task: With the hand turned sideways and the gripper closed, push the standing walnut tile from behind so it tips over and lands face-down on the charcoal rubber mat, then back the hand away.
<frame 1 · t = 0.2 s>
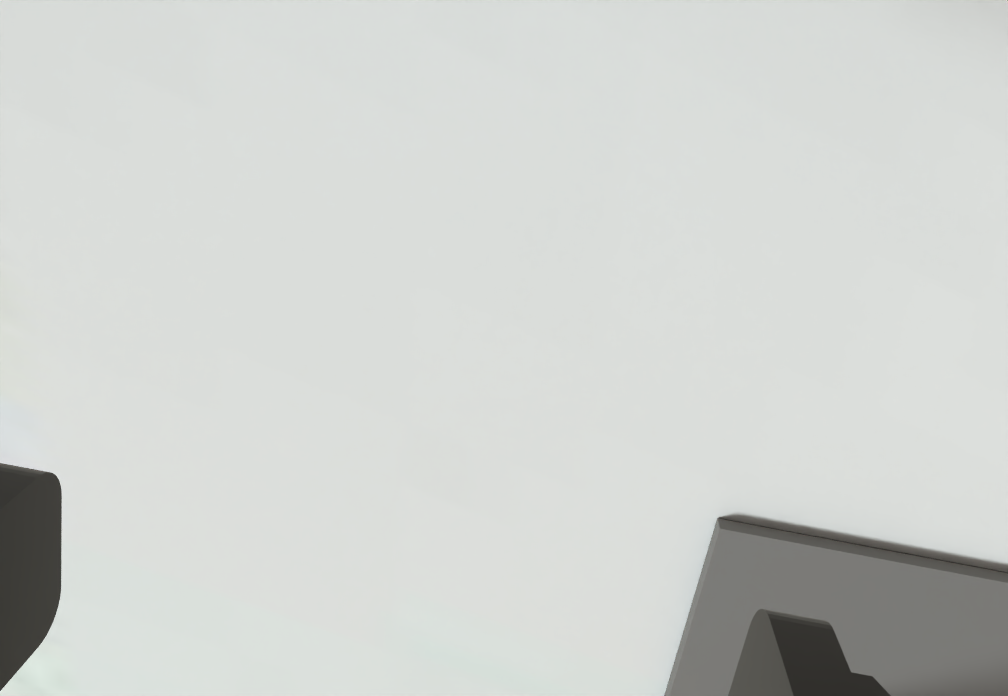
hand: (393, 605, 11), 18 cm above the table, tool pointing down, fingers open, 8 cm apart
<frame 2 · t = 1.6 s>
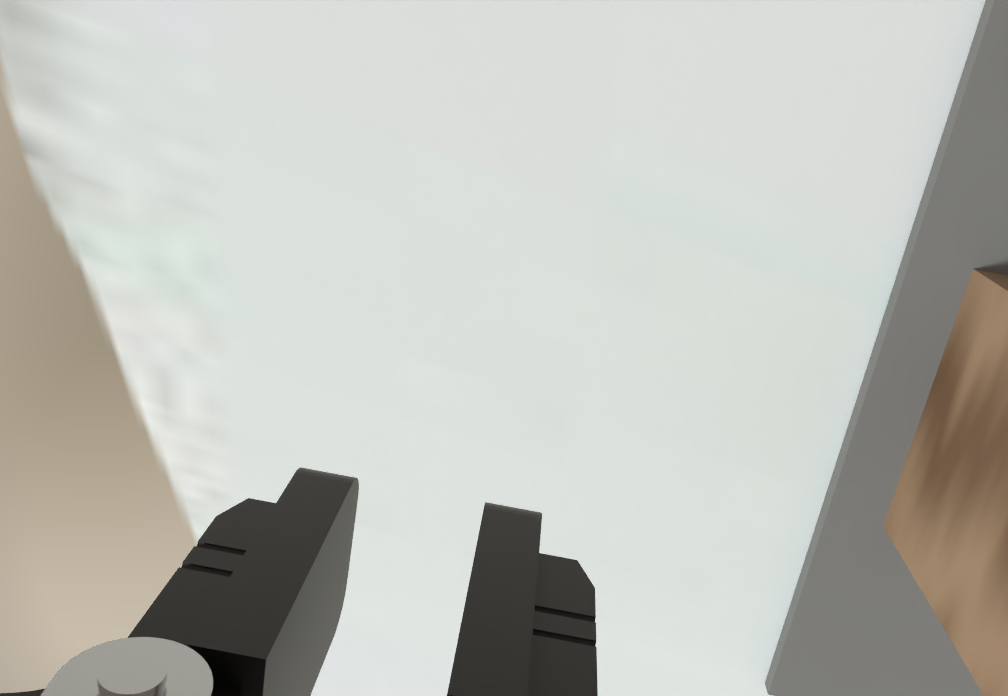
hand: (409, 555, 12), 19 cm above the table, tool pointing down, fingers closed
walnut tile: (959, 410, 30), point 1 cm above the table, touching charcoal mat
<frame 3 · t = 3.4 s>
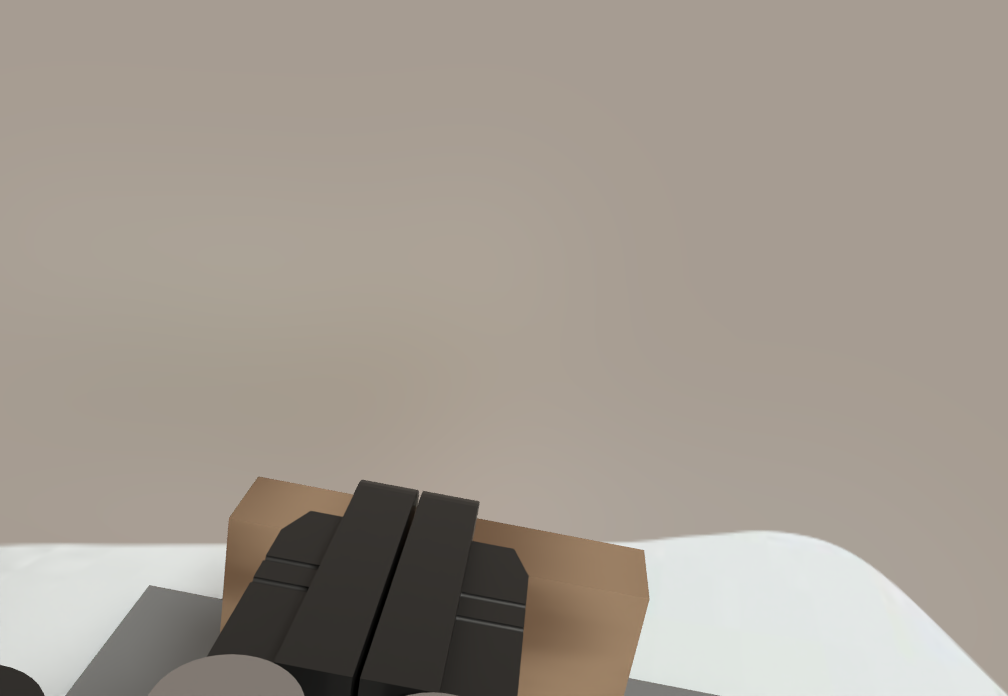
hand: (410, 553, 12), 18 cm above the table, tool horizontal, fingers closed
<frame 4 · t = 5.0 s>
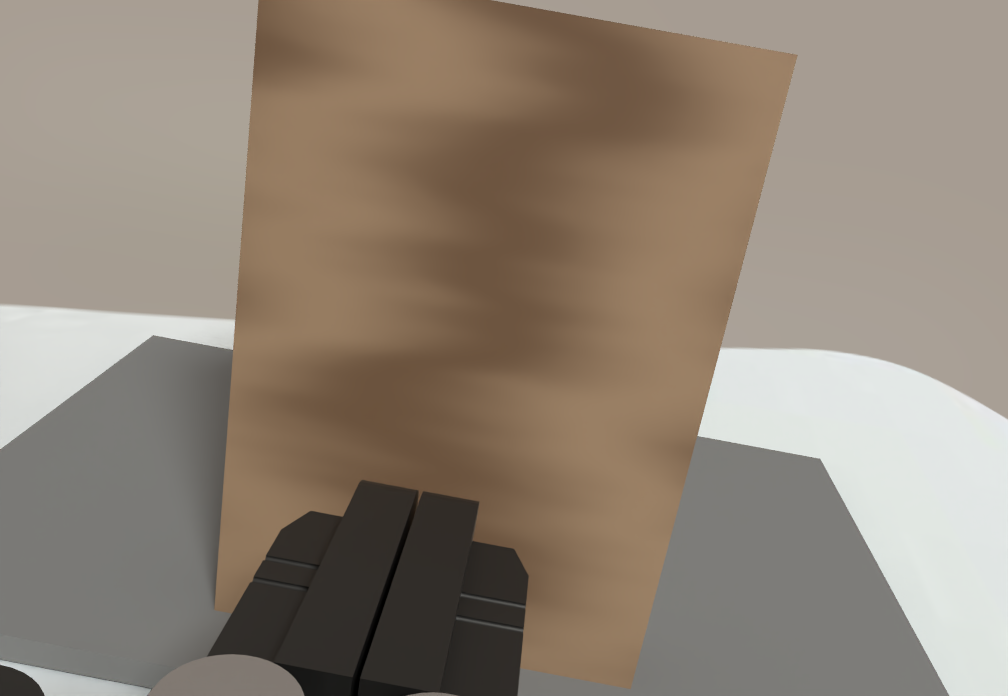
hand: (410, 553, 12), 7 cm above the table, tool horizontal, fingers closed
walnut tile: (429, 618, 21), point 1 cm above the table, touching charcoal mat
charcoal mat: (453, 527, 26), on the table
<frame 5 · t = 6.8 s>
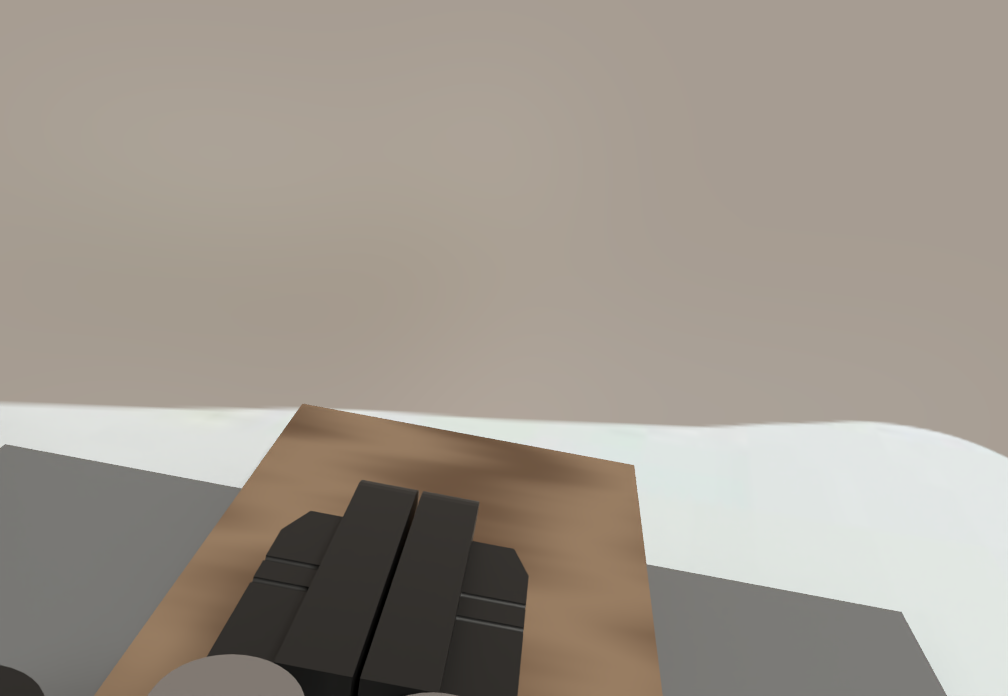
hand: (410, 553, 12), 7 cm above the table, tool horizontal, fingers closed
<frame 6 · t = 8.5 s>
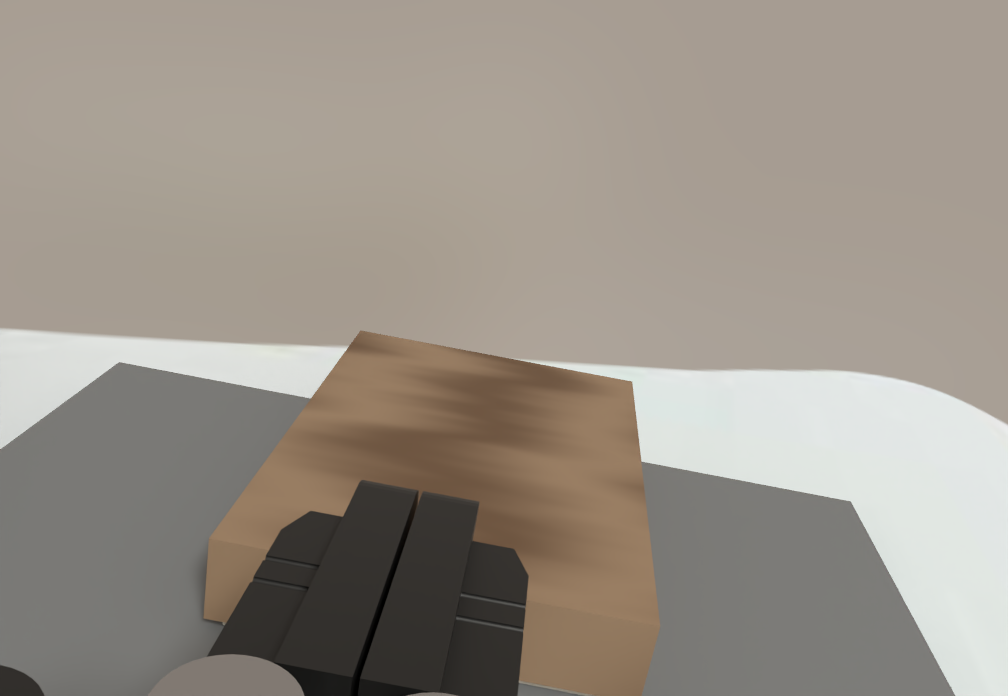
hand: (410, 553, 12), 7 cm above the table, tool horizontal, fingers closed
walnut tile: (425, 628, 19), point 2 cm above the table, tilted 90°, touching charcoal mat
charcoal mat: (441, 589, 23), on the table
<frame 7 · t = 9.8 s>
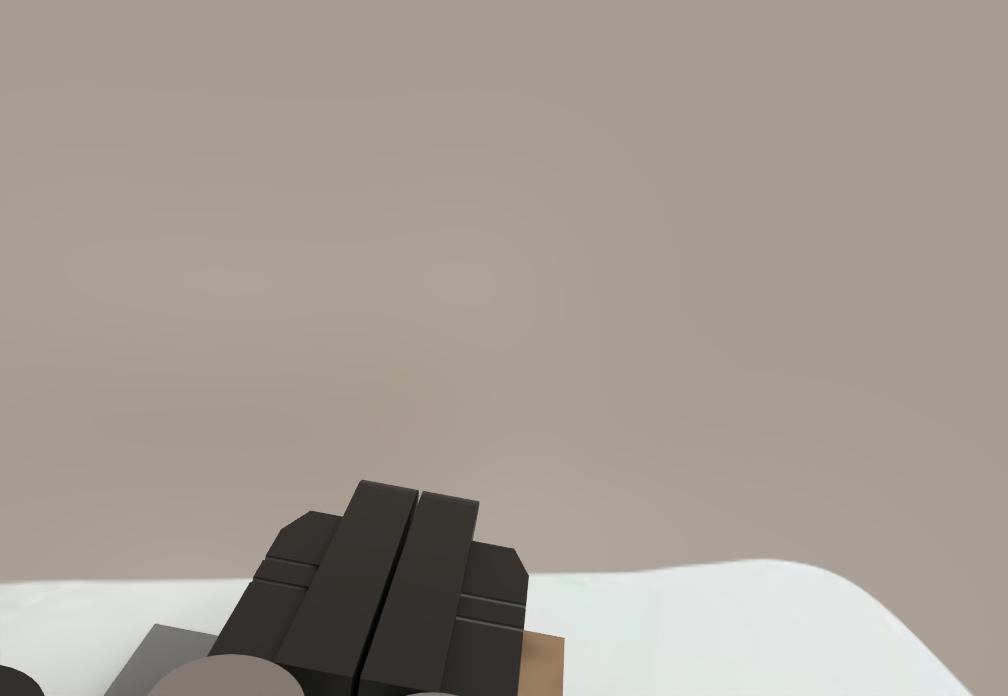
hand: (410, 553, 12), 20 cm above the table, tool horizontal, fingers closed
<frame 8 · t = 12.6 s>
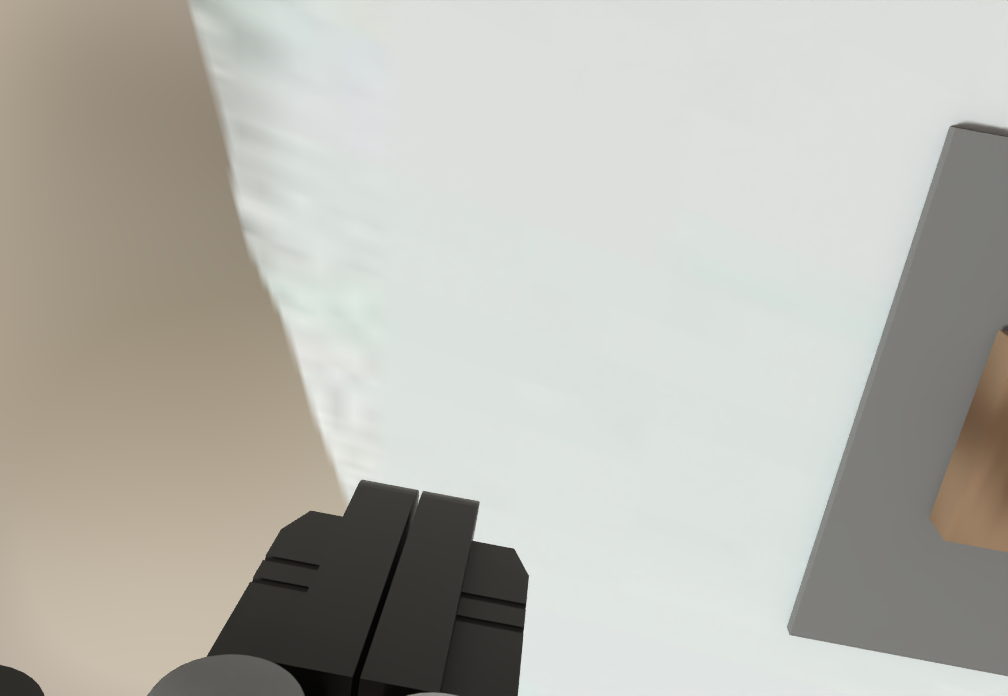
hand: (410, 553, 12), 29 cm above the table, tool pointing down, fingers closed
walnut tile: (969, 435, 39), point 2 cm above the table, tilted 90°, touching charcoal mat
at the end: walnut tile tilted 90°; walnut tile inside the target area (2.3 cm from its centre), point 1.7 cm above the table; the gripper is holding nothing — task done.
